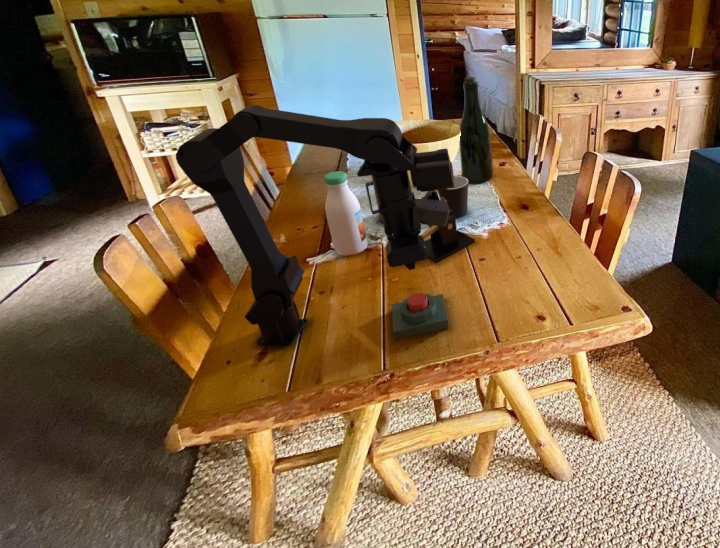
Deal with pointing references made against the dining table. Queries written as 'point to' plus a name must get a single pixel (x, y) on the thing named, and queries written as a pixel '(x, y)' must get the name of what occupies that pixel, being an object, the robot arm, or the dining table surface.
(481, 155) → the wine bottle
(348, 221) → the milk bottle
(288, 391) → the dining table surface
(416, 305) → the button
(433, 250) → the lever switch
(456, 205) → the coffee mug
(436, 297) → the button box
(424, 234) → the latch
